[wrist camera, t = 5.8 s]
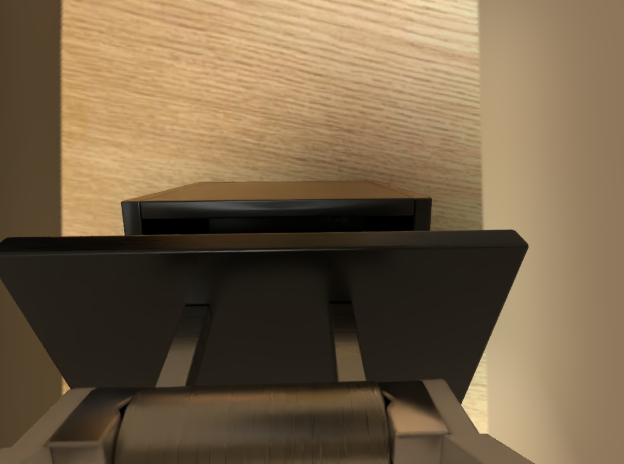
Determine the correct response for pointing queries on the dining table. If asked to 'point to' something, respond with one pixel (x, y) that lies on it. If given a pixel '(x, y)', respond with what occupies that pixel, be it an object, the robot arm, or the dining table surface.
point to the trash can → (277, 209)
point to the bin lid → (262, 332)
